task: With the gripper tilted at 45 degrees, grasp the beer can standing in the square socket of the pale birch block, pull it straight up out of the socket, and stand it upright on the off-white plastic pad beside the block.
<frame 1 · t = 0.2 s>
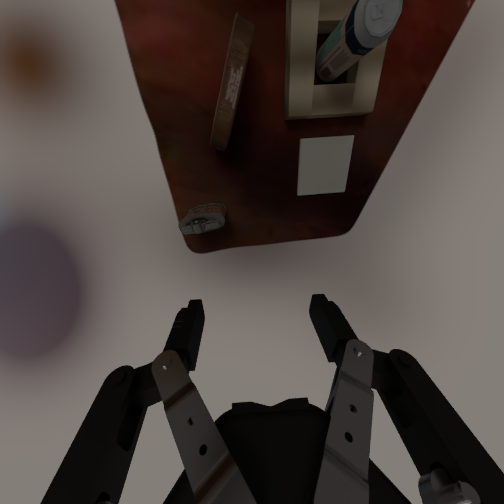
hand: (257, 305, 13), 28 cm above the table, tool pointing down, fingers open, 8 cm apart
lighter: (207, 211, 38), on the table
tin: (230, 101, 30), on the table
pad: (323, 167, 36), on the table
socket block: (328, 63, 29), on the table
beer can: (328, 63, 29), resting in socket block
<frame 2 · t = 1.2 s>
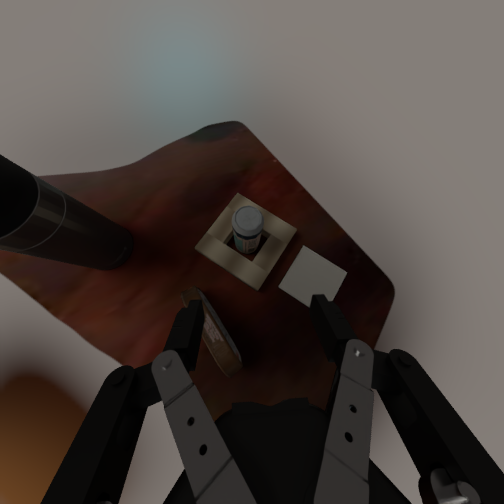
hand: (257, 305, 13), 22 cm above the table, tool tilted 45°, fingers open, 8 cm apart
tin: (216, 323, 33), on the table
pad: (312, 279, 36), on the table
socket block: (246, 243, 37), on the table
beer can: (246, 243, 37), resting in socket block
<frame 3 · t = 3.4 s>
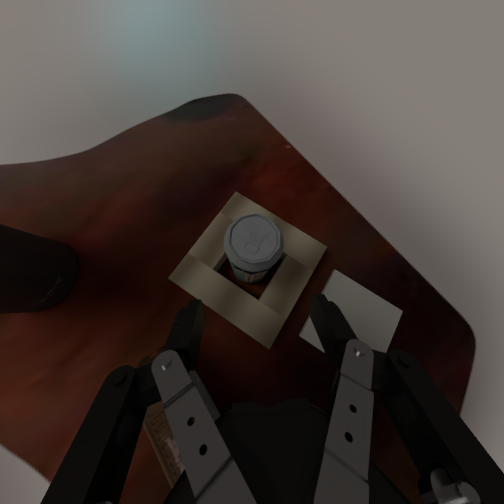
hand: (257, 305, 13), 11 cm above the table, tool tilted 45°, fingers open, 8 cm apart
tin: (203, 398, 21), on the table
pad: (350, 322, 24), on the table
socket block: (250, 266, 25), on the table
beer can: (250, 266, 25), resting in socket block
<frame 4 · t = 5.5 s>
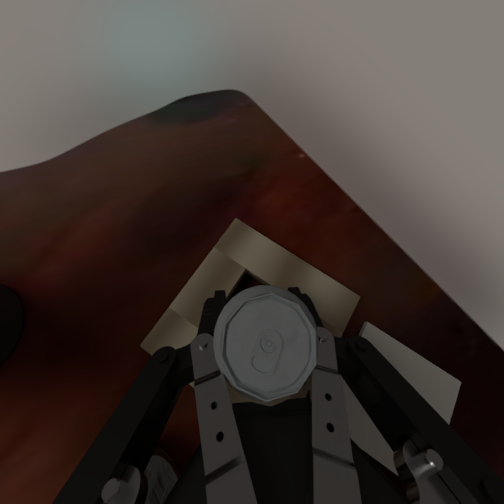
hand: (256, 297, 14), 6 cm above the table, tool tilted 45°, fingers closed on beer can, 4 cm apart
pad: (390, 398, 17), on the table
socket block: (254, 316, 19), on the table
beer can: (254, 316, 19), resting in socket block, touching gripper
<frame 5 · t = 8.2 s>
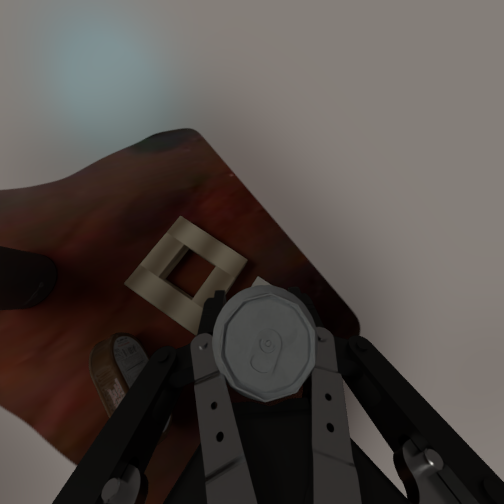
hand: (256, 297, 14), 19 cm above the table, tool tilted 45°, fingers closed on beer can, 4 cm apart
tin: (150, 372, 29), on the table
socket block: (192, 273, 32), on the table
beer can: (253, 316, 19), point 13 cm above the table, touching gripper
when the fingers open (7 cm above the table, at t = 10.9 s): beer can drops 1 cm, resting on pad.
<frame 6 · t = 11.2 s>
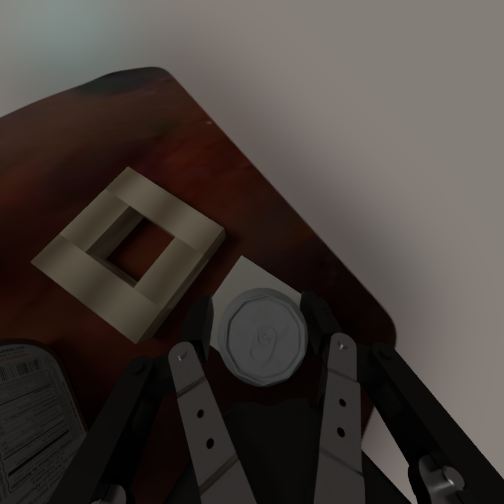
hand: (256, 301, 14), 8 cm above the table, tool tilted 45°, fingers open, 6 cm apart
tin: (69, 400, 18), on the table
pad: (253, 315, 21), on the table
socket block: (146, 251, 22), on the table
beer can: (253, 317, 20), resting on pad
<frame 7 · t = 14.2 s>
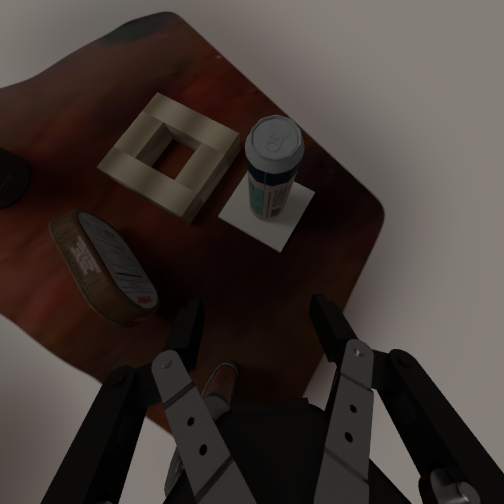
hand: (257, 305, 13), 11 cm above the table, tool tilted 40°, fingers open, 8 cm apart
lighter: (217, 393, 22), on the table
tin: (136, 268, 25), on the table
pad: (266, 205, 26), on the table
socket block: (177, 164, 28), on the table
beer can: (266, 206, 26), resting on pad
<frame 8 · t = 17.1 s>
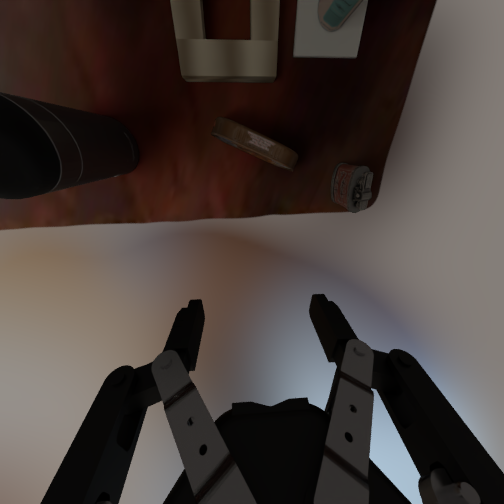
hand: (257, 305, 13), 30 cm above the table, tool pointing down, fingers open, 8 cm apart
lighter: (338, 183, 39), on the table
tin: (254, 146, 34), on the table
pad: (330, 9, 26), on the table
socket block: (227, 16, 26), on the table
beer can: (332, 9, 26), resting on pad
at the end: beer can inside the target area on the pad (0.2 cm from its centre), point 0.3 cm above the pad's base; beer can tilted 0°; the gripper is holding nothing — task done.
